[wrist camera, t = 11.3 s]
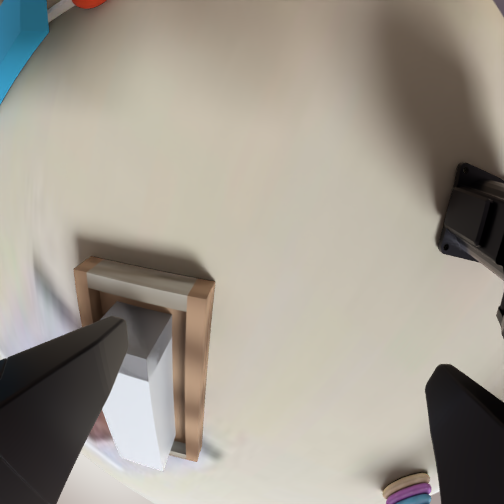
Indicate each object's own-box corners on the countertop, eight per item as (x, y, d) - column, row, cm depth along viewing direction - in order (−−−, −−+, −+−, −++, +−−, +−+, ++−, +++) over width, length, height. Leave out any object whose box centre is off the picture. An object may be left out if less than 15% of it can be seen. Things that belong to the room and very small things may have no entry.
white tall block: (175, 434, 26) (163, 471, 21) (136, 423, 26) (120, 457, 21) (172, 314, 20) (146, 359, 15) (117, 301, 20) (83, 338, 16)
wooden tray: (91, 256, 20) (73, 268, 18) (215, 281, 20) (207, 299, 18) (120, 421, 28) (113, 436, 26) (201, 444, 28) (197, 462, 25)
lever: (22, 120, 21) (130, 8, 13) (-32, 135, 15) (51, -9, 7) (15, 72, 19) (117, -43, 11) (-36, 80, 13) (50, -62, 5)
